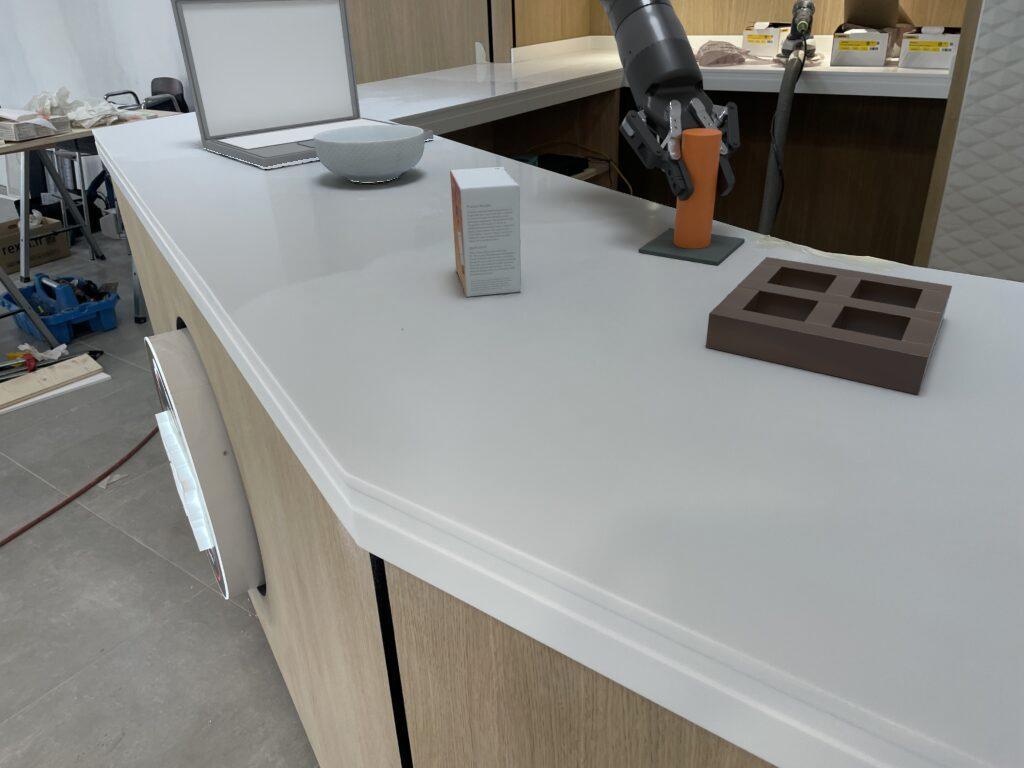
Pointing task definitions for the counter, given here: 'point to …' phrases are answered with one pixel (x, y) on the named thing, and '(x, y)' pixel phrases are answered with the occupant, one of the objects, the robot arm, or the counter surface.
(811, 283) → the peg board
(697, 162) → the peg
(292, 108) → the laptop
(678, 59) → the robot arm
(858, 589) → the counter surface
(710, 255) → the mat
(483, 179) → the small box
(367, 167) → the cereal bowl
